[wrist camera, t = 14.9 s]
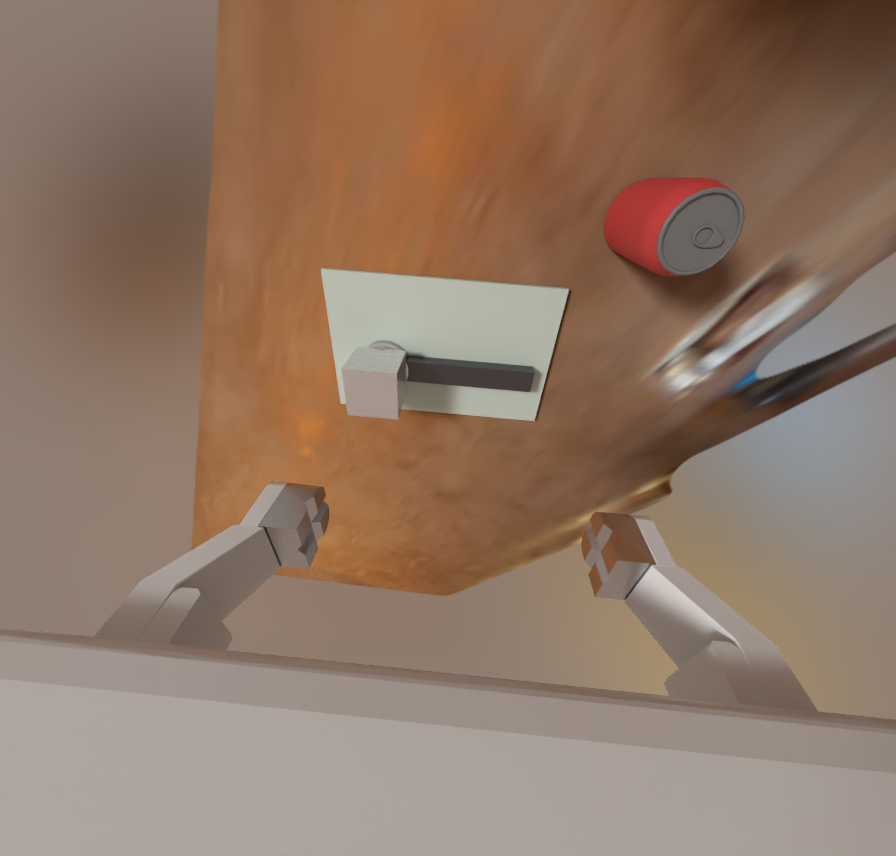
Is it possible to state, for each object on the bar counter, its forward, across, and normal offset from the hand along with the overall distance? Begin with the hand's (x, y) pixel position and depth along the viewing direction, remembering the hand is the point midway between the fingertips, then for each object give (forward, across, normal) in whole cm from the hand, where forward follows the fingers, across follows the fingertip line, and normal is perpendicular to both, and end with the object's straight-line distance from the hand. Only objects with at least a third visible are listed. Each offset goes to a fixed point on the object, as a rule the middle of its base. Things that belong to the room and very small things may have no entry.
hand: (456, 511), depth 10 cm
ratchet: (+33, +2, +12) cm, 36 cm away
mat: (+34, +3, +10) cm, 36 cm away
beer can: (+34, -16, -6) cm, 38 cm away
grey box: (+31, +10, +12) cm, 35 cm away
